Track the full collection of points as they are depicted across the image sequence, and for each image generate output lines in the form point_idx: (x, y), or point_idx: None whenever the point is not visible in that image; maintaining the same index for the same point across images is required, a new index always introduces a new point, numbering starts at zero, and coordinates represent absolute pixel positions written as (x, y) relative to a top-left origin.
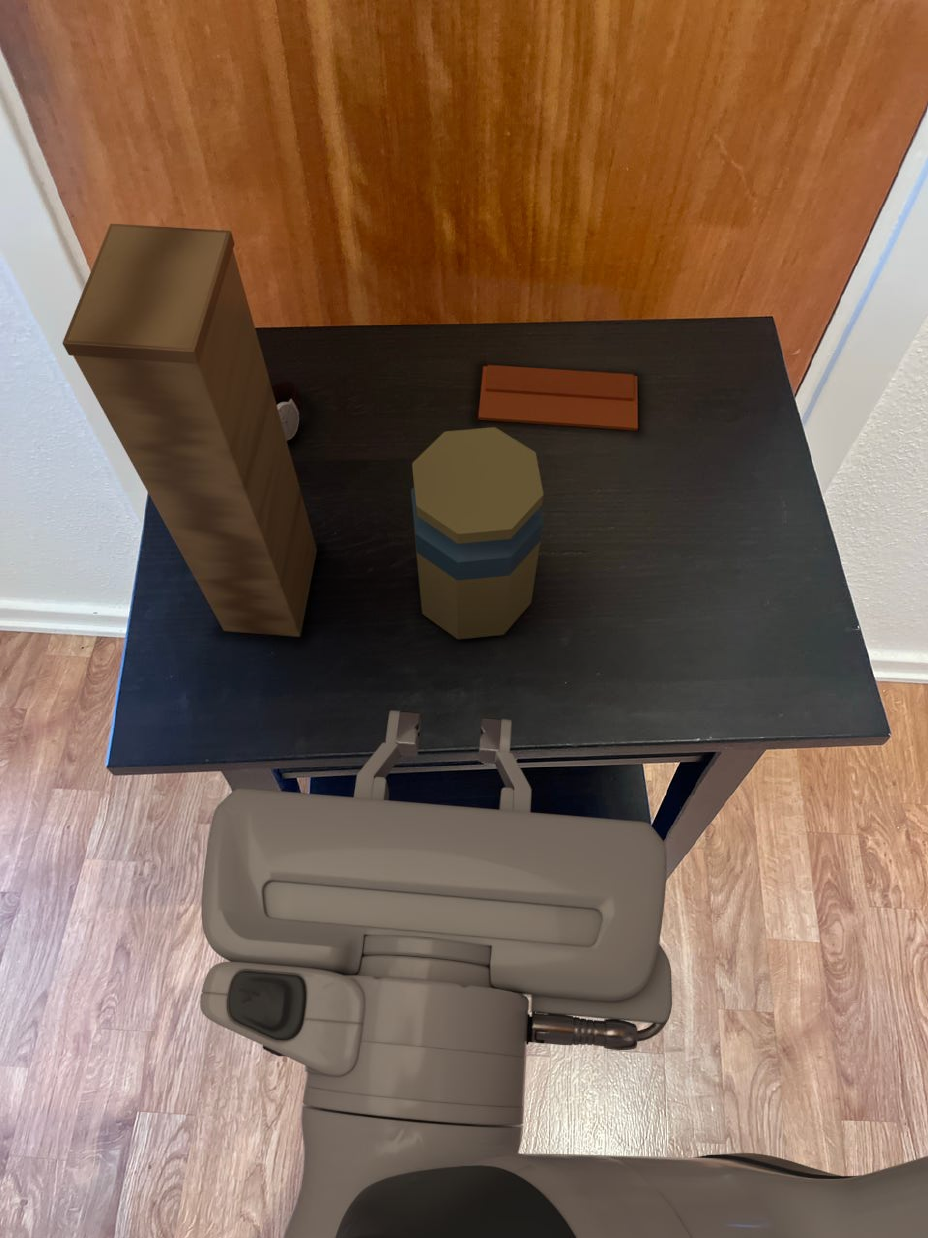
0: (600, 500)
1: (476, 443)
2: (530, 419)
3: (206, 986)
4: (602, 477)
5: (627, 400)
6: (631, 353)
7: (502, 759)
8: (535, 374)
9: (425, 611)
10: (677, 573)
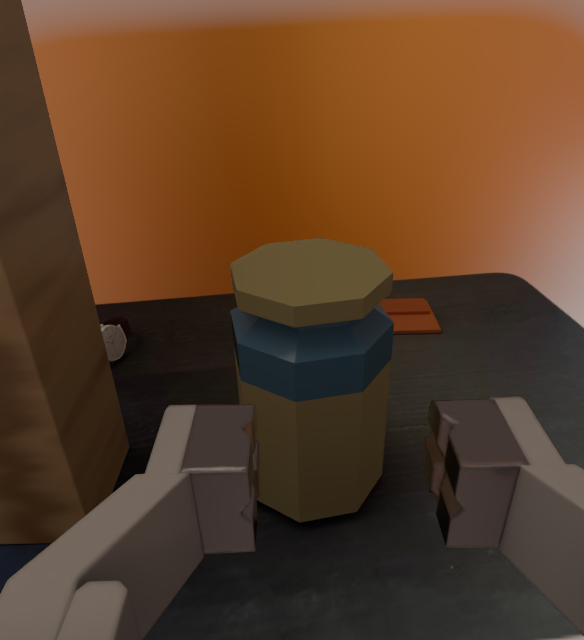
0: (426, 382)
1: (303, 248)
2: None
3: None
4: (421, 365)
5: (424, 314)
6: (416, 290)
7: (554, 482)
8: None
9: None
10: None
